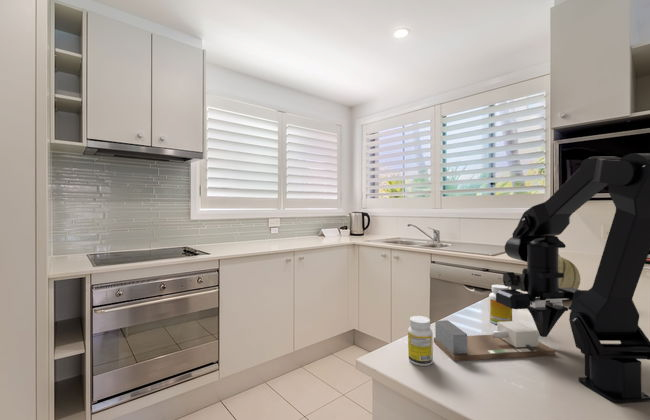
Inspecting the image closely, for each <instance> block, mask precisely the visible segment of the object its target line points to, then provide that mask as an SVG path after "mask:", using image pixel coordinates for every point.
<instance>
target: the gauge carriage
mask: <svg viewBox="0 0 650 420" xmlns="http://www.w3.org/2000/svg"><path fill="white" fill-rule="evenodd" d="M496 326H497V327H496V328H497V330H494V331H493V330H492V331H491V332H490V335H492V337H493V338H502V339H503V340H505V341H506V342H508V343H510V344H511V345H513V346H514V347H528V348H530V349H531V350H533V351H534V350H536V349H535V348H533V347H534V346H538V341H539V332H538V329H534V328H533V327H531V326H528V325H526V324H524V323H523V322H520V321H518V320H514V321H513V320H512V321H506V322H497V325H496Z"/></svg>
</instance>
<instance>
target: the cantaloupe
mask: <svg viewBox="0 0 650 420" xmlns="http://www.w3.org/2000/svg"><path fill="white" fill-rule="evenodd" d="M559 272H562V273H564V278H559V288H565V287H571V288H575V289H578V290H579V286H580V284H581V275H580V271H579V269H578V268H577V266H576V265H575V264H574V263H573V262H572V261H570V260H569V259H566V258H564V257H563V256H560V255H559Z"/></svg>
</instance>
